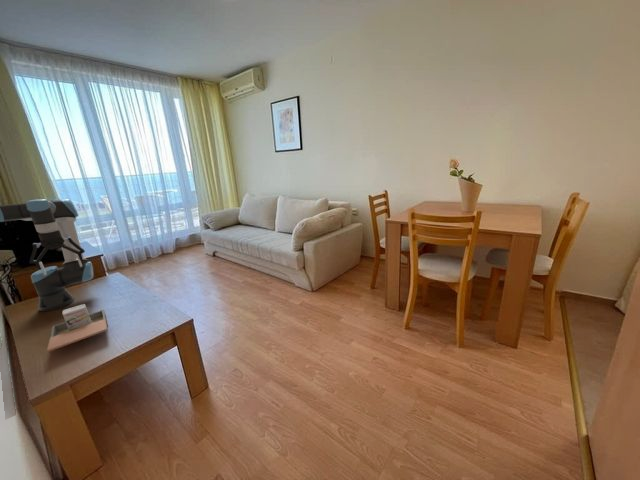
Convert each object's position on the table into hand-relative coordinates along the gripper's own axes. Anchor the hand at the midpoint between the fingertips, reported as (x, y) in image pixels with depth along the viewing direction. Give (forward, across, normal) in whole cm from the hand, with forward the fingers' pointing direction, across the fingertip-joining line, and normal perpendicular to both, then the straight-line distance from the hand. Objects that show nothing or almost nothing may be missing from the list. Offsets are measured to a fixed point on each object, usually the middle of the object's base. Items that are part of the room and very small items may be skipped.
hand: (63, 270), depth 132 cm
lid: (+22, 0, -30) cm, 37 cm away
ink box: (+28, 0, -17) cm, 32 cm away
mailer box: (+28, 0, -17) cm, 33 cm away
